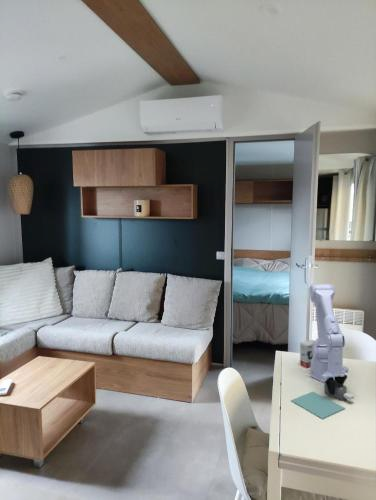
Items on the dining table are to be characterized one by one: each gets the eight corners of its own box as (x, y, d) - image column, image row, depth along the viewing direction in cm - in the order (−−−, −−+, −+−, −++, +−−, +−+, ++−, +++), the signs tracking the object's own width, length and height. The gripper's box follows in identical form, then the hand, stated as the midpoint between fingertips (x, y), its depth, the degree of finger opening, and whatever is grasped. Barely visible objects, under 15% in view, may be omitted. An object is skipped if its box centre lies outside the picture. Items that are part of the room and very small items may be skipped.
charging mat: (290, 401, 150) (290, 400, 150) (312, 392, 157) (312, 391, 157) (322, 419, 136) (322, 418, 136) (345, 408, 143) (345, 407, 143)
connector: (322, 391, 157) (322, 380, 156) (328, 389, 158) (328, 378, 158) (348, 405, 145) (348, 393, 145) (355, 402, 147) (355, 390, 147)
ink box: (306, 368, 180) (306, 345, 179) (299, 364, 184) (299, 342, 183) (320, 364, 183) (319, 342, 182) (313, 361, 188) (312, 339, 187)
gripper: (331, 368, 145) (331, 401, 146) (354, 360, 152) (354, 391, 153) (317, 362, 151) (317, 394, 152) (340, 354, 158) (340, 384, 159)
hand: (335, 392), depth 153 cm, fingers closed on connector, 4 cm apart
